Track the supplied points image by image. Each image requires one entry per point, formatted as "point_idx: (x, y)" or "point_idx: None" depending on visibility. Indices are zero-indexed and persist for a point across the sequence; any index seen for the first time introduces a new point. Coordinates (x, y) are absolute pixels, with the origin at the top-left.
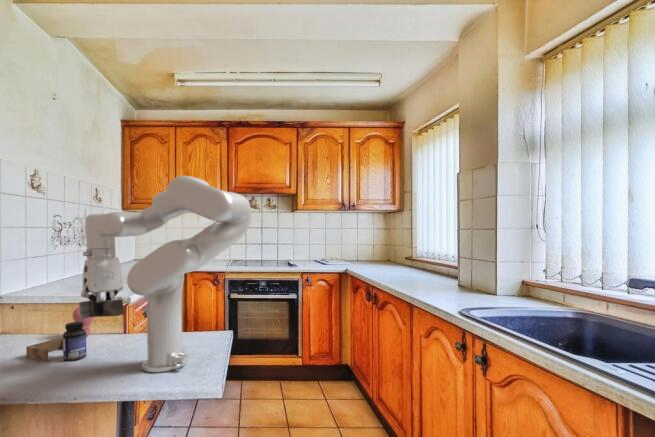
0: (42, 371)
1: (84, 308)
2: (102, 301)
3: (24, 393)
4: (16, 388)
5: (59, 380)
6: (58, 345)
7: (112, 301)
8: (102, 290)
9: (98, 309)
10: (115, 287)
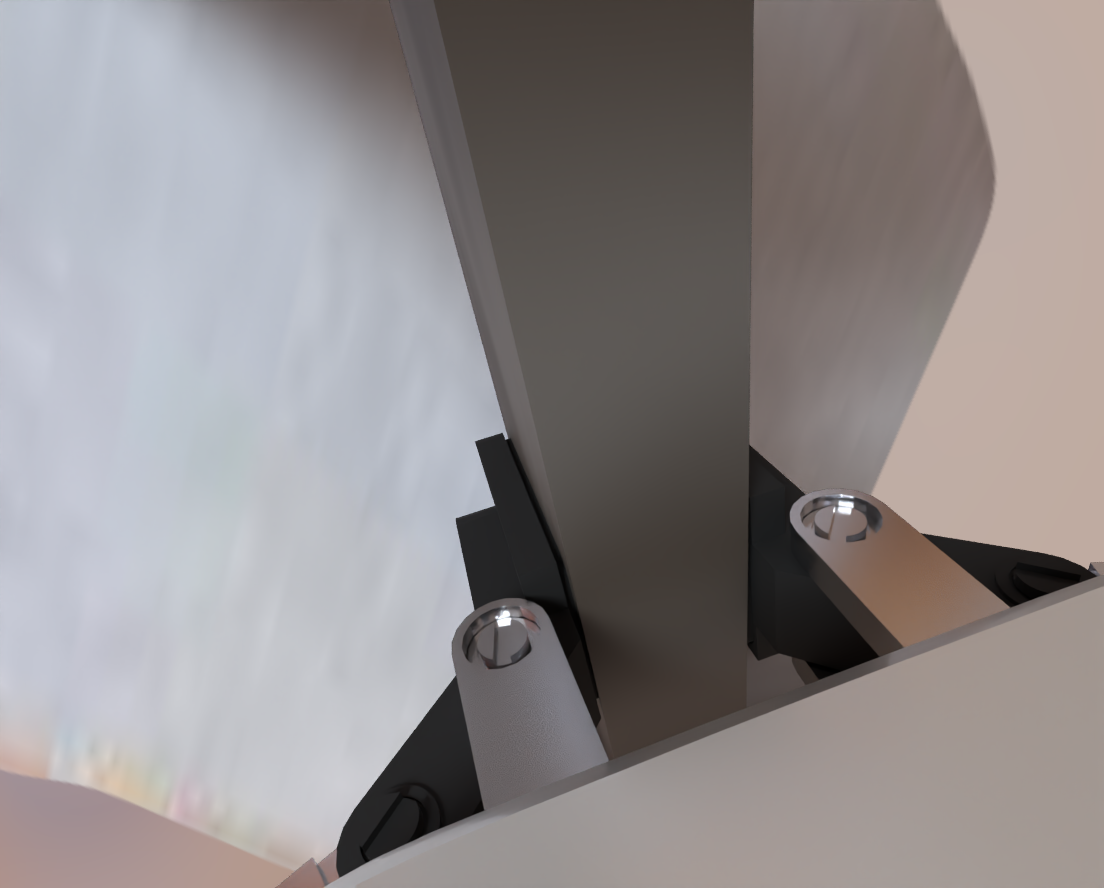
0: (768, 417)
1: (771, 682)
2: (734, 533)
3: (974, 90)
4: (947, 228)
5: (791, 155)
6: None
7: (744, 69)
8: (1080, 618)
9: None
10: (538, 868)
